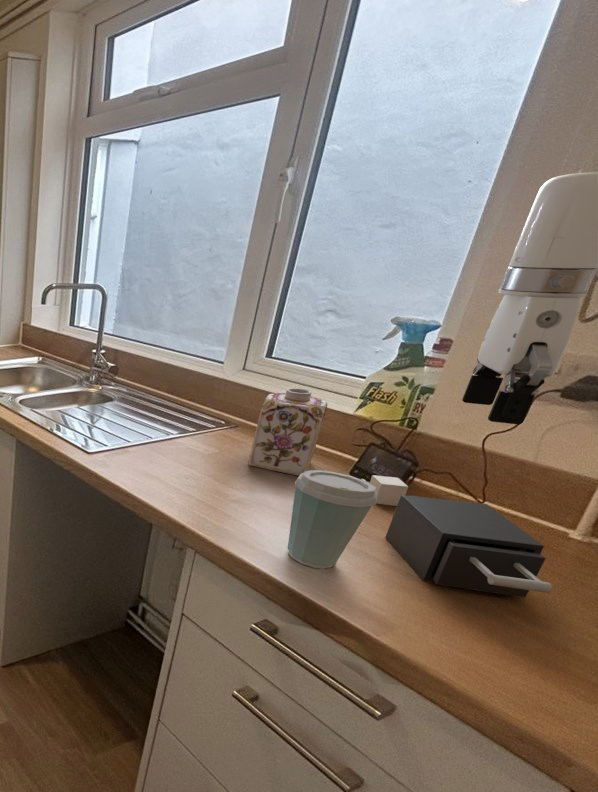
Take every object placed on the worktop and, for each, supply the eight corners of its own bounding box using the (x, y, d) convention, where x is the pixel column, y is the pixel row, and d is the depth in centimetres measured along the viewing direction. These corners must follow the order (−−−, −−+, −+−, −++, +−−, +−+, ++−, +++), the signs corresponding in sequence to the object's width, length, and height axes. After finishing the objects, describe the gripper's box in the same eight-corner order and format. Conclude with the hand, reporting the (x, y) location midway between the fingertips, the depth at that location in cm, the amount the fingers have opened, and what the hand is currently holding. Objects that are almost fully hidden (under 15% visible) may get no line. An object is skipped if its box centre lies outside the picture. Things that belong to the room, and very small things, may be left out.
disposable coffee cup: (272, 536, 95) (294, 460, 89) (346, 551, 90) (373, 471, 84) (277, 567, 86) (302, 484, 80) (359, 584, 81) (391, 498, 75)
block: (391, 497, 108) (398, 477, 106) (401, 506, 104) (408, 486, 103) (365, 494, 109) (372, 474, 108) (374, 503, 106) (381, 483, 104)
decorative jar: (311, 462, 125) (333, 388, 118) (306, 478, 117) (329, 400, 110) (254, 451, 132) (271, 381, 125) (245, 465, 124) (263, 391, 117)
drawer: (556, 625, 71) (579, 583, 68) (459, 609, 74) (478, 569, 72) (475, 552, 87) (491, 516, 85) (398, 542, 90) (412, 507, 88)
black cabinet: (519, 595, 78) (544, 546, 75) (423, 580, 82) (443, 533, 79) (467, 548, 90) (487, 504, 87) (385, 537, 94) (401, 494, 90)
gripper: (629, 289, 58) (558, 435, 64) (553, 279, 72) (500, 400, 78) (534, 287, 61) (476, 426, 68) (478, 278, 75) (434, 394, 82)
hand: (489, 412), depth 73 cm, fingers open, 9 cm apart
